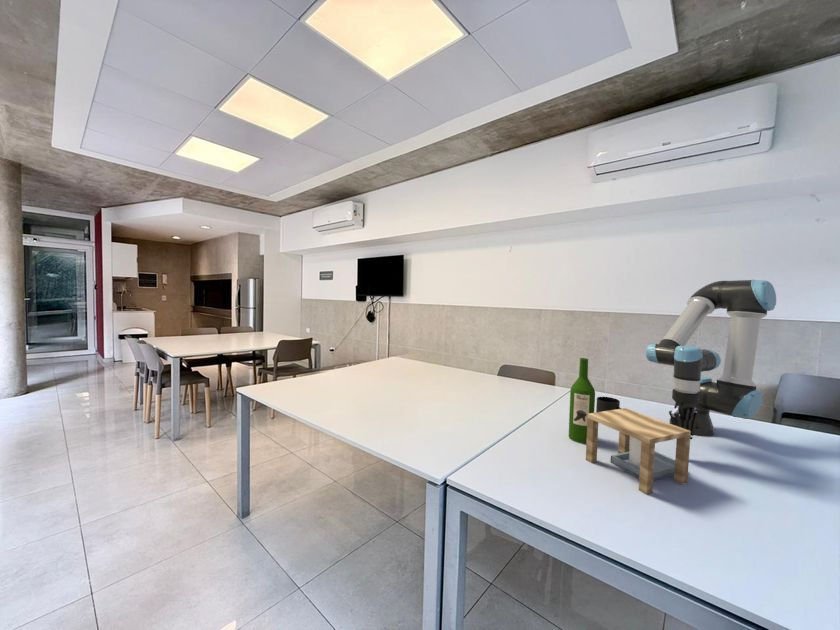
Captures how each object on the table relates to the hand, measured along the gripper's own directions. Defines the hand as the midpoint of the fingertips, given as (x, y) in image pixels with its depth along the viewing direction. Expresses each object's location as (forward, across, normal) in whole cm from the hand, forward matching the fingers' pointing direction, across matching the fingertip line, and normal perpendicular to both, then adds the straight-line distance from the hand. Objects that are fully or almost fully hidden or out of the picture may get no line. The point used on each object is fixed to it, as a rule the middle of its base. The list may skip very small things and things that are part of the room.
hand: (681, 455), depth 121 cm
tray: (+1, +18, 0) cm, 18 cm away
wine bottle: (+1, +21, -25) cm, 33 cm away
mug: (+2, -9, -37) cm, 38 cm away
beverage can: (+1, +21, 0) cm, 21 cm away
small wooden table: (+1, +24, 0) cm, 24 cm away
